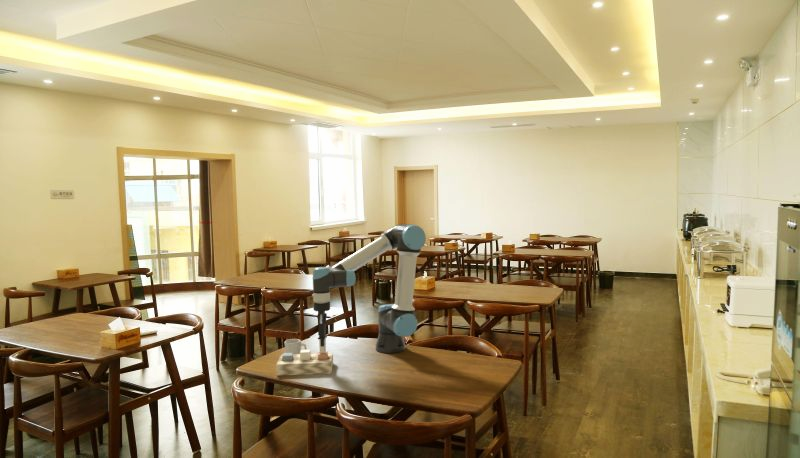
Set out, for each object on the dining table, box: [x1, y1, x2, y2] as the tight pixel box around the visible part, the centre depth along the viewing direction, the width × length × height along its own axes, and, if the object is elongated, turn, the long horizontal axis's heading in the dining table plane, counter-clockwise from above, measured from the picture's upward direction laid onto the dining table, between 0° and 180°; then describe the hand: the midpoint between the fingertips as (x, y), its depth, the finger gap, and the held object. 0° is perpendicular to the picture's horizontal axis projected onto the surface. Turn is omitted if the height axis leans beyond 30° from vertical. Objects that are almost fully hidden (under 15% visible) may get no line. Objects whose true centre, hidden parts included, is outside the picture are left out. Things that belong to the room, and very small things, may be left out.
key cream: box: [300, 348, 312, 360], centre depth 238 cm, size 4×4×5 cm
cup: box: [284, 338, 307, 354], centre depth 256 cm, size 11×8×8 cm
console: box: [275, 352, 334, 377], centre depth 238 cm, size 24×14×5 cm, turn 94°
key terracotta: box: [317, 351, 329, 360], centre depth 238 cm, size 4×4×5 cm
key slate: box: [281, 352, 293, 361], centre depth 237 cm, size 4×4×5 cm
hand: (322, 352), depth 238 cm, fingers closed
